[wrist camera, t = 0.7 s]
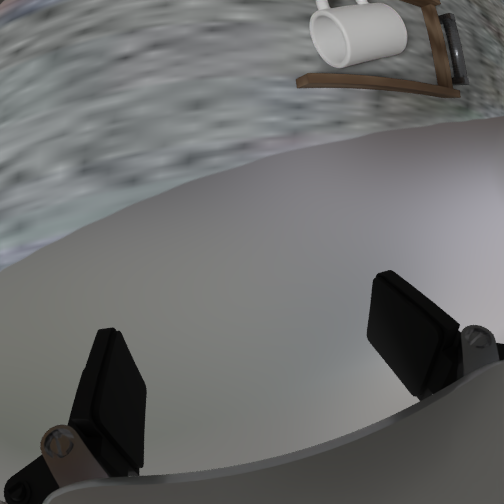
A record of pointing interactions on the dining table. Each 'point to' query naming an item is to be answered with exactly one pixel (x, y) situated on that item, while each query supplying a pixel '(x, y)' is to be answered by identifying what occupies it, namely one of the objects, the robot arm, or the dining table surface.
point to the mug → (356, 32)
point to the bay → (444, 80)
